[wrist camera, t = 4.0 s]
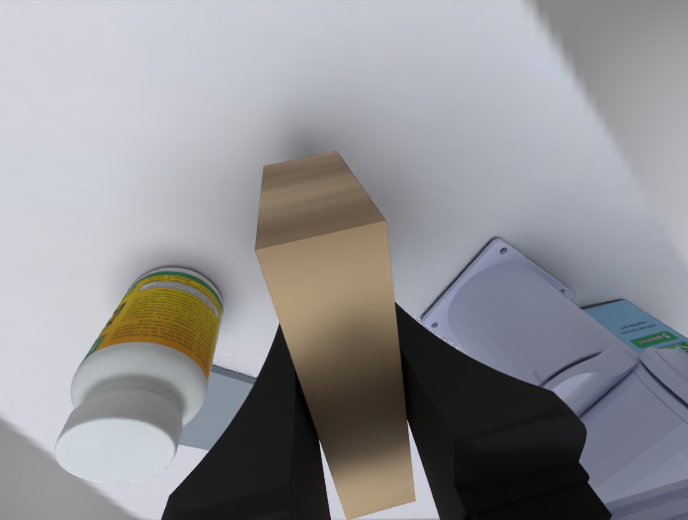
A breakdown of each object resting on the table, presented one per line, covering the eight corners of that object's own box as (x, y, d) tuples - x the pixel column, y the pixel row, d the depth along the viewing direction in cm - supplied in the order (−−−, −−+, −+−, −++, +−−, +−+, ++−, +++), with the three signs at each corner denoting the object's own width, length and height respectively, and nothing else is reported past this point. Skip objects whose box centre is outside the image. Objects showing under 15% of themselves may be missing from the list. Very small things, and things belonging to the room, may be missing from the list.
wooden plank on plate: (373, 370, 17) (415, 500, 12) (325, 383, 17) (346, 520, 12) (336, 150, 12) (386, 220, 6) (263, 166, 11) (255, 250, 6)
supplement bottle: (219, 339, 23) (189, 493, 15) (128, 331, 21) (39, 498, 13) (229, 270, 21) (200, 409, 12) (128, 256, 19) (18, 404, 11)
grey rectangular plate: (299, 391, 27) (299, 398, 26) (249, 451, 29) (249, 458, 29) (136, 341, 22) (133, 348, 21) (94, 418, 24) (90, 426, 24)
